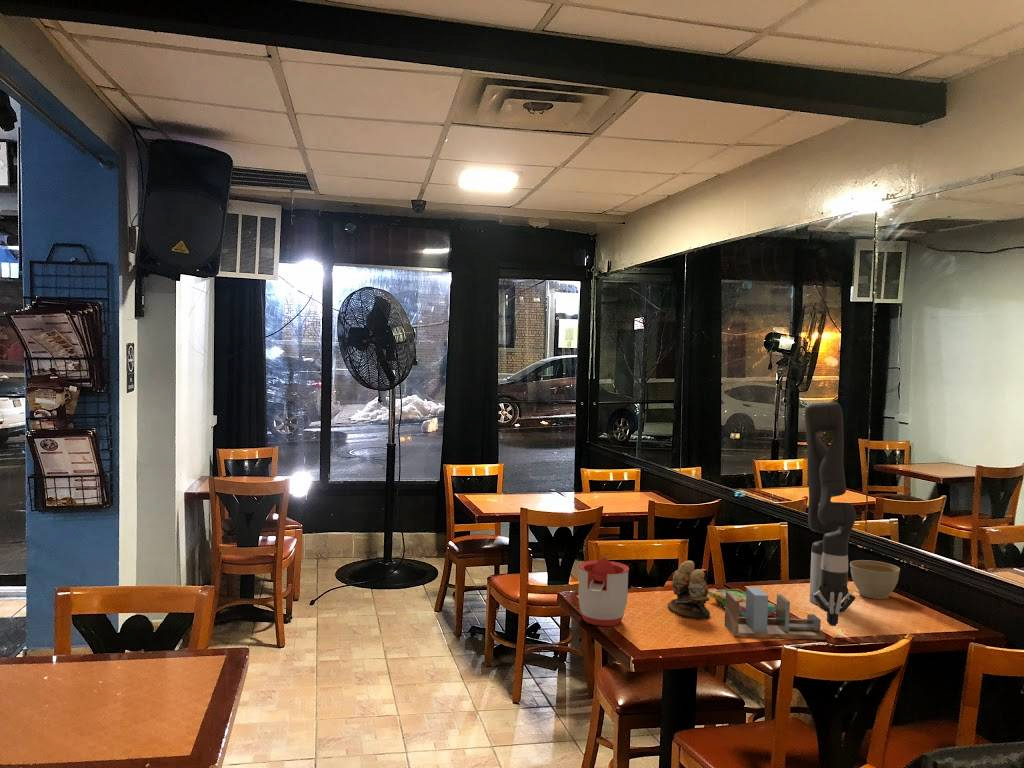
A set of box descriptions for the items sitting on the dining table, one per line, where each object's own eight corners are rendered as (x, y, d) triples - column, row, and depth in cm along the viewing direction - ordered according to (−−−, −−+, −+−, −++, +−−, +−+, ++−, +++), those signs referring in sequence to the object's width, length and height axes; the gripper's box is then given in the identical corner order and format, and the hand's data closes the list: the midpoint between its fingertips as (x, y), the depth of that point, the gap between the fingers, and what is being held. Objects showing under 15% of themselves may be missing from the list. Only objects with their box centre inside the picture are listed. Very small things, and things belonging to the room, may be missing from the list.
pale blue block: (758, 623, 233) (759, 587, 232) (766, 632, 225) (768, 595, 224) (745, 623, 233) (746, 587, 232) (753, 632, 225) (754, 595, 224)
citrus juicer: (568, 626, 228) (570, 560, 228) (584, 610, 244) (586, 548, 244) (619, 634, 222) (621, 567, 222) (632, 617, 238) (634, 554, 238)
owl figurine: (721, 619, 239) (723, 566, 239) (689, 623, 235) (691, 569, 235) (689, 602, 256) (690, 552, 256) (658, 605, 252) (660, 554, 251)
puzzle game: (745, 606, 239) (708, 588, 258) (745, 621, 239) (708, 602, 258) (776, 603, 243) (737, 586, 262) (775, 618, 243) (736, 599, 262)
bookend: (811, 624, 232) (812, 595, 232) (821, 632, 225) (823, 602, 225) (775, 623, 232) (776, 594, 232) (784, 631, 225) (785, 601, 225)
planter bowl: (843, 588, 280) (844, 558, 280) (889, 591, 278) (890, 561, 277) (856, 600, 264) (857, 569, 264) (905, 604, 262) (907, 573, 262)
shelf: (811, 627, 234) (813, 593, 233) (825, 639, 224) (826, 603, 223) (724, 625, 234) (725, 591, 233) (734, 636, 224) (735, 601, 223)
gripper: (850, 565, 232) (848, 621, 232) (807, 564, 232) (805, 620, 232) (862, 572, 225) (859, 630, 225) (817, 570, 224) (815, 628, 225)
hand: (832, 625), depth 229 cm, fingers closed
